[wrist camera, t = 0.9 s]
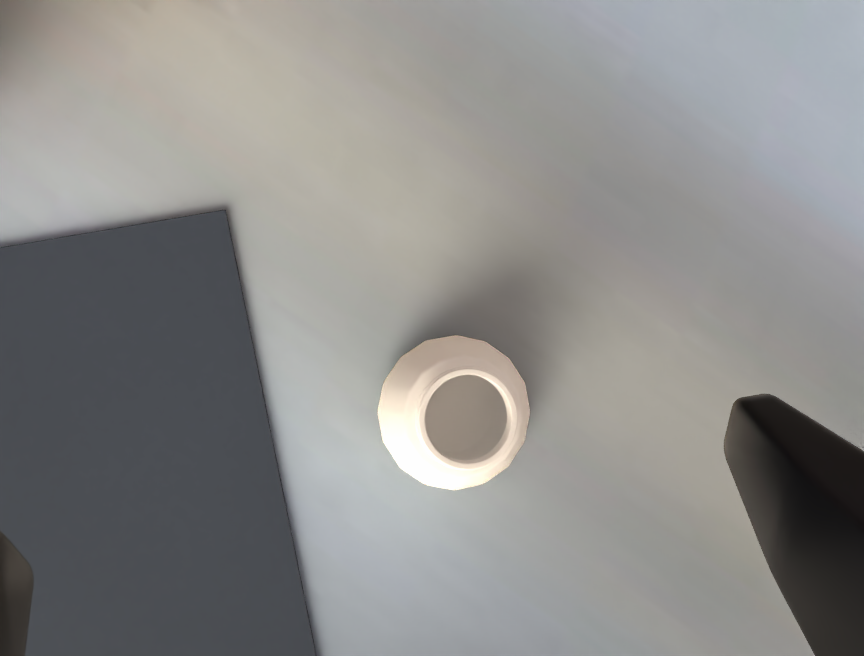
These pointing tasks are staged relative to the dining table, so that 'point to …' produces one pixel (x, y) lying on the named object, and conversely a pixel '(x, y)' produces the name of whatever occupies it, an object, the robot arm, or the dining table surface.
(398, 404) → the white jar
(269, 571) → the slate mat
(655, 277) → the dining table surface
